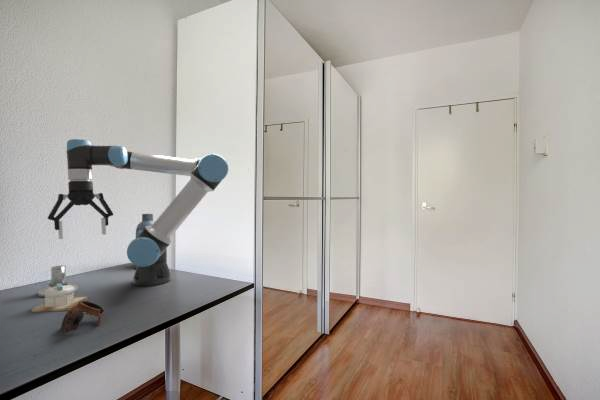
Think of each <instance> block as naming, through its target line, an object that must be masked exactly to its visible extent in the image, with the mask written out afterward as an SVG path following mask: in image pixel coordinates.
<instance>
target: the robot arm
mask: <svg viewBox="0 0 600 400" xmlns="http://www.w3.org/2000/svg"><path fill="white" fill-rule="evenodd" d="M65 152H66V159H67V160H66V161H67V162H66V163H67V176H68V177H67V178H68V179H67V180H69V181H68V184H67V185H68V194H64V193H59V194H58V195H57V201H56V202H55V203H54V206H53V207H52V209H51V210H50V212H49V214H48V215H47V220H49V221H53V222H54V223H53V224H54V230H55V231H58V239H59V240H63V239H64V237H63V236H64V235H63V221H62V220H61V219H62V218H63V217H64V216H65V214H67V213H68V211H70V210H71V208H72V207H74V206H87V205H89V206H91V208H93V209H94V210H95V211H96V212H98V214H100V215H101V216H102V217H101V218H100V220H101V221H100V223H101V235H107V232H106V231H107V226H108V225H109V217H112V216H113V215H114V213H113V210H111V207H110V206H109V205H108V203H107V201H106V199H104V194H103V193H102V192H99V193H94V184H93V181H92V180H93V166H110V167H114V168H116V169H120V170H123V169H126V170H135V171H143V172H152V173H159V174H160V173H161V174H168V175H178V176H187V177H190V179H189V180H188V182H187V183H186V184H185V185H184V187H183V188H182V189H181V190H180V191H179V193H178V194H177V195H176V196H175V198H173V199H172V201H171V202H170V203H169V205H168V206H166V208H165V209H164V210H163V211H162V213H160V215H159V216H158V217H157V219H156V220H155V221H154V224H153V225H151V226H146V227H145V228H144V229H143V230H139V231H138V235H137V238H136V237H135V238H134V239H133V240H131V242H129V243H128V246H127V249H126V256H127V258H128V260H129V262H131V263H132V264H133V265H134V266H135V265H137V268H135V272H134V276H133V278H132V283H133V285H135V286H139V287H141V286H142V287H143V286H144V287H149V286H156V285H157V286H158V285H161V284H162V285H163V284H165V283H168V282H170V281H171V280H172V275H171V271H170V268H169V265H168V263H167V262H168V261H167V259H168V258H167V257H168V254H167V251H168V249H167V248H168V247H169V246H170V245H171V243H172V241H171V240H172V239H171V238H172V236H173V235H174V234H175V233H176V231H178V229H179V228H180V226H181V225H182V224H183V223H184V221H186V220H187V218H189V215H190V214H191V213H192V212H193V211H194V209H195V208H196V207H197V205H199V203H201V201H202V200H203V198H204V197H205V196H206V195H207V194H208V193H209V192H214V190H215V189H217V187H218V186H219V185H220V183H221V182H222V181H223V180H224V179H225V178H226V177H227V175H228V172H229V165H228V162H227V161H226V159H225V158H224V157H223V156H221V155H220V154H216V153H208V154H205V155H204V156H202V157H201V158H198V157H196V158H195V159H189V158H181V157H174V156H165V155H159V154H158V155H157V154H151V153H150V154H149V153H141V152H135V151H133V152H132V151H128V150H127V149H126V147H125V146H122V145H92V143H91V141H90V140H89V139H88V140H87V139H80V138H72V139H71V138H70V139H68V140H67V141H66V151H65ZM94 198H96V199H97V200H99V202H100V204H101V205H102V208H101V207H99V205H97V204H96V202H94V200H93V199H94ZM66 199H68V200H69V201H70V202H68V203H67V204H66V206H65V207H64V208H62V210H60V212H59V213H58V214H57V212H58V210H59V208H60V207H61V205H62V203H63V201H65V200H66ZM103 208H104V210H105V211H104V210H103ZM56 214H57V215H56Z"/></svg>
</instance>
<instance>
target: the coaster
mask: <svg viewBox="0 0 600 400" xmlns="http://www.w3.org/2000/svg"><path fill="white" fill-rule="evenodd" d="M87 300H88V296H74V302H72V303H70V304H67V305H63V306H58V307H45V302H44V303H41V304H40V305H38V306H35V307H33V308H31V313H32V312H34V313H35V312H58V311H59V312H60V311H62V312H64V311H68V310H69V309H70V308H72V307H73V306H75V305H78V303H79V301H87Z"/></svg>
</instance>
